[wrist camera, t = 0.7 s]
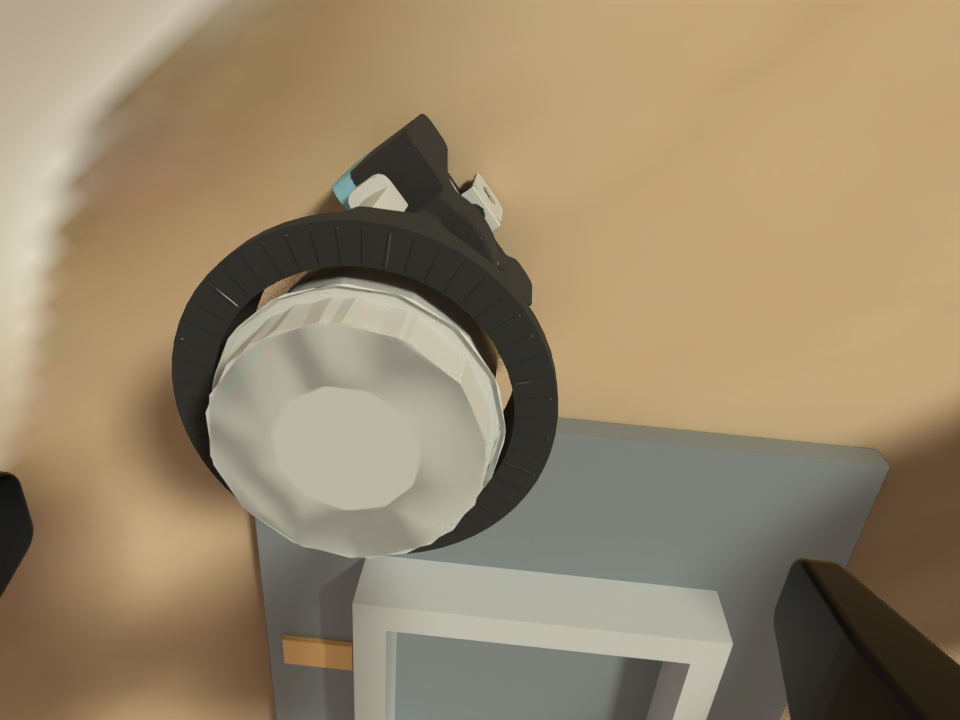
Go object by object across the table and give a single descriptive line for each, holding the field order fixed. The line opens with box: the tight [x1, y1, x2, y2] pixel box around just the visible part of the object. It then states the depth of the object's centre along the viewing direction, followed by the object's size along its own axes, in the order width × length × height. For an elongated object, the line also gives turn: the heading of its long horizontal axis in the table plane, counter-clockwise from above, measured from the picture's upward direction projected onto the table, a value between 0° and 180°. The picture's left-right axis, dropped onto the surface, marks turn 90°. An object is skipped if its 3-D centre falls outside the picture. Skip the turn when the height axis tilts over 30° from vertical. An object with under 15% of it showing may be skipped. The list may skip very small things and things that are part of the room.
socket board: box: [255, 418, 890, 720], centre depth 23 cm, size 18×20×3 cm
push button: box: [172, 114, 558, 559], centre depth 13 cm, size 7×5×10 cm
